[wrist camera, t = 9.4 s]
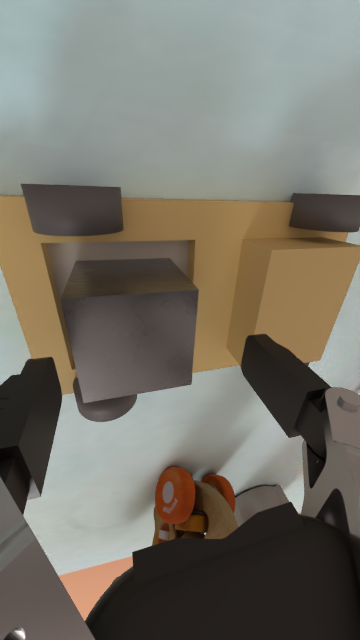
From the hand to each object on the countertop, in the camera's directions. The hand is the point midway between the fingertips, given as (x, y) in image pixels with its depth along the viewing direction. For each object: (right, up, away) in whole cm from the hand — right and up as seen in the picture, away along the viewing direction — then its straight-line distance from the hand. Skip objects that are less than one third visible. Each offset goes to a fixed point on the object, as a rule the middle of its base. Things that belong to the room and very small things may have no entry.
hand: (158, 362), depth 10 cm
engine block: (-3, +3, +5) cm, 7 cm away
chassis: (+2, +4, +7) cm, 8 cm away
